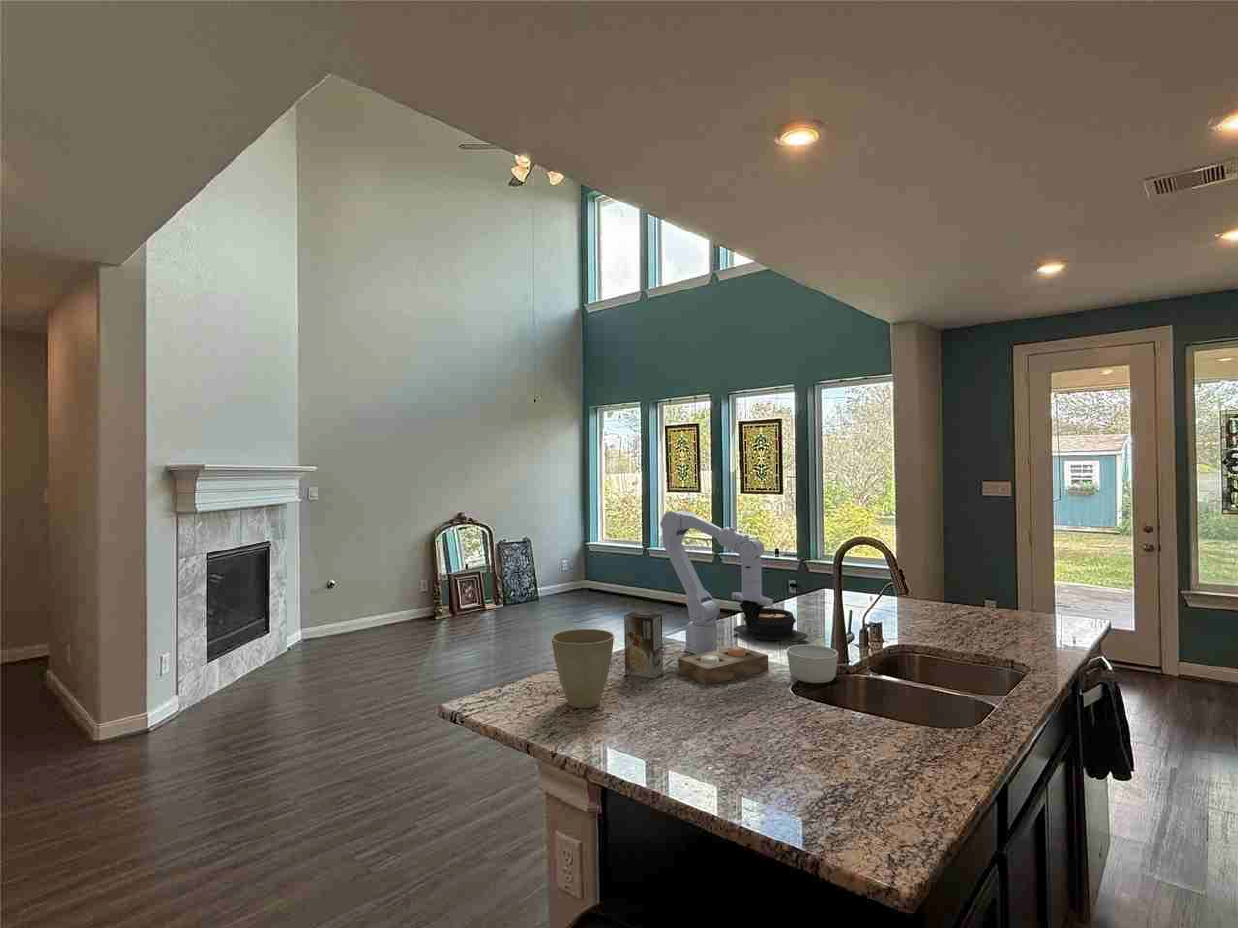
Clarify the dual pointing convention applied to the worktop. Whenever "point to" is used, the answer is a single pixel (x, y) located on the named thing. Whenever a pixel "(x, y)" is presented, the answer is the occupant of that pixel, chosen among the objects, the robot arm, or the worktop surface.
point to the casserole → (773, 627)
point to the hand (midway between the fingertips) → (752, 627)
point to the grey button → (709, 659)
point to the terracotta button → (736, 652)
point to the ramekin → (812, 663)
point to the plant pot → (583, 664)
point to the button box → (722, 666)
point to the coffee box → (643, 644)
